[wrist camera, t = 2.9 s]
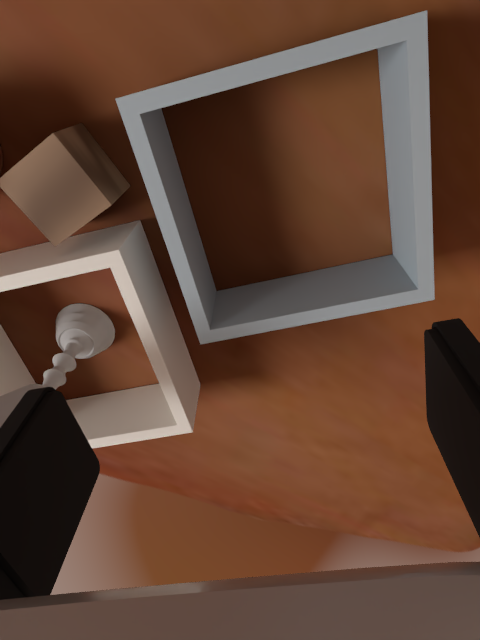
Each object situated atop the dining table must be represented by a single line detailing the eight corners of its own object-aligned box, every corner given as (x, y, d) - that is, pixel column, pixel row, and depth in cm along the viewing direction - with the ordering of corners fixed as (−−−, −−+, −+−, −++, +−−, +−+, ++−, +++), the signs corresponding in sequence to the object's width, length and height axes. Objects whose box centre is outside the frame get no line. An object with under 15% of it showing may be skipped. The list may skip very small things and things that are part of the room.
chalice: (38, 347, 39) (-105, 537, 23) (47, 282, 36) (-114, 452, 20) (119, 370, 40) (34, 566, 24) (135, 309, 37) (48, 490, 21)
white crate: (-48, 265, 35) (-101, 300, 30) (140, 219, 33) (118, 249, 28) (43, 412, 43) (14, 461, 38) (200, 384, 41) (192, 432, 35)
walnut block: (31, 165, 31) (-5, 181, 27) (82, 122, 30) (52, 132, 25) (81, 223, 33) (55, 246, 29) (131, 185, 32) (111, 204, 27)
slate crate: (140, 92, 28) (115, 98, 23) (392, 20, 26) (427, 10, 21) (208, 304, 36) (200, 344, 31) (407, 263, 34) (434, 299, 29)
